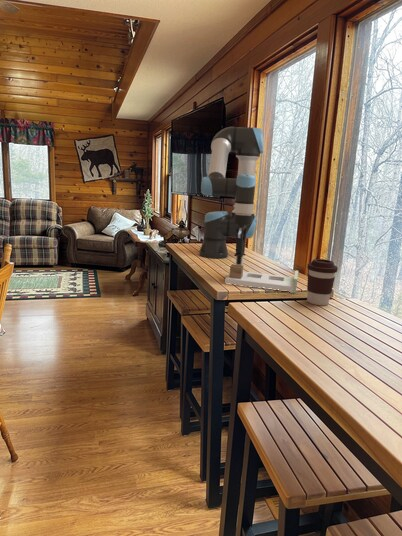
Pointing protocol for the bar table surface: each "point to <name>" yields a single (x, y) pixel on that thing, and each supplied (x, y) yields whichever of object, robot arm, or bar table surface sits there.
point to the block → (236, 271)
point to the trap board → (266, 281)
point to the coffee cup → (320, 281)
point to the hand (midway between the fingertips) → (238, 271)
